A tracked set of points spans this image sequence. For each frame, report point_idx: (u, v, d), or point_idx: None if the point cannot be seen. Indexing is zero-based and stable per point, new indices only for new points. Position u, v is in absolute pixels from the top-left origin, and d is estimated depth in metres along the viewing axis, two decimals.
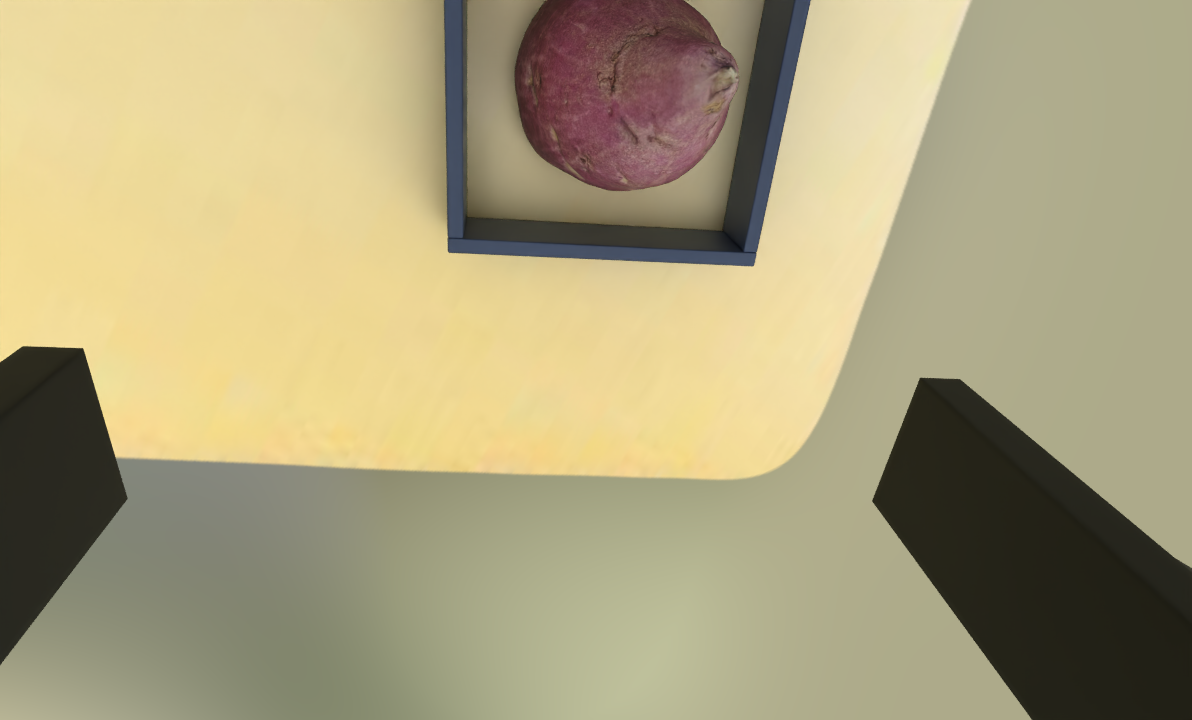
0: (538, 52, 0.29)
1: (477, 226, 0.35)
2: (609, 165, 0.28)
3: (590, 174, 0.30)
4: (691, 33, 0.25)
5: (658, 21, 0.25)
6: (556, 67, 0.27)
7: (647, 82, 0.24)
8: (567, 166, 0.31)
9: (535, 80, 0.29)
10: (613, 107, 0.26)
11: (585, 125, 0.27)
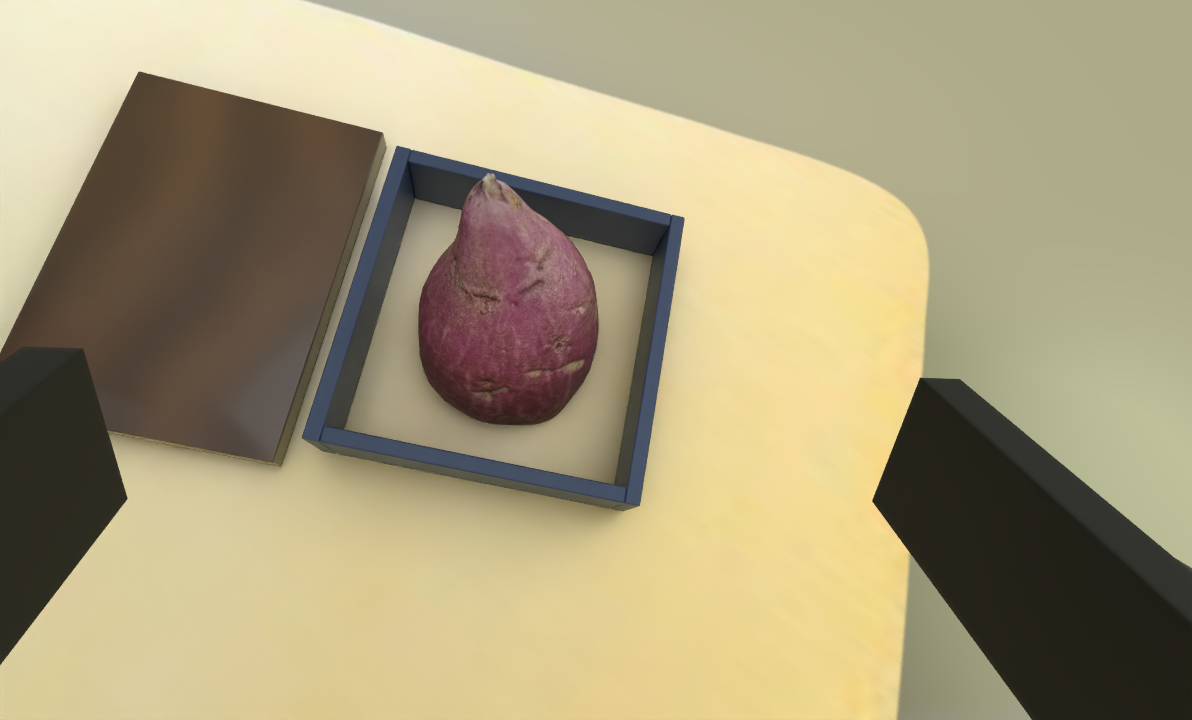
0: (464, 380, 0.32)
1: (620, 479, 0.35)
2: (563, 317, 0.30)
3: (573, 343, 0.31)
4: None
5: (448, 260, 0.30)
6: (474, 358, 0.30)
7: (489, 261, 0.27)
8: (567, 370, 0.33)
9: (486, 386, 0.32)
10: (510, 299, 0.28)
11: (524, 332, 0.29)
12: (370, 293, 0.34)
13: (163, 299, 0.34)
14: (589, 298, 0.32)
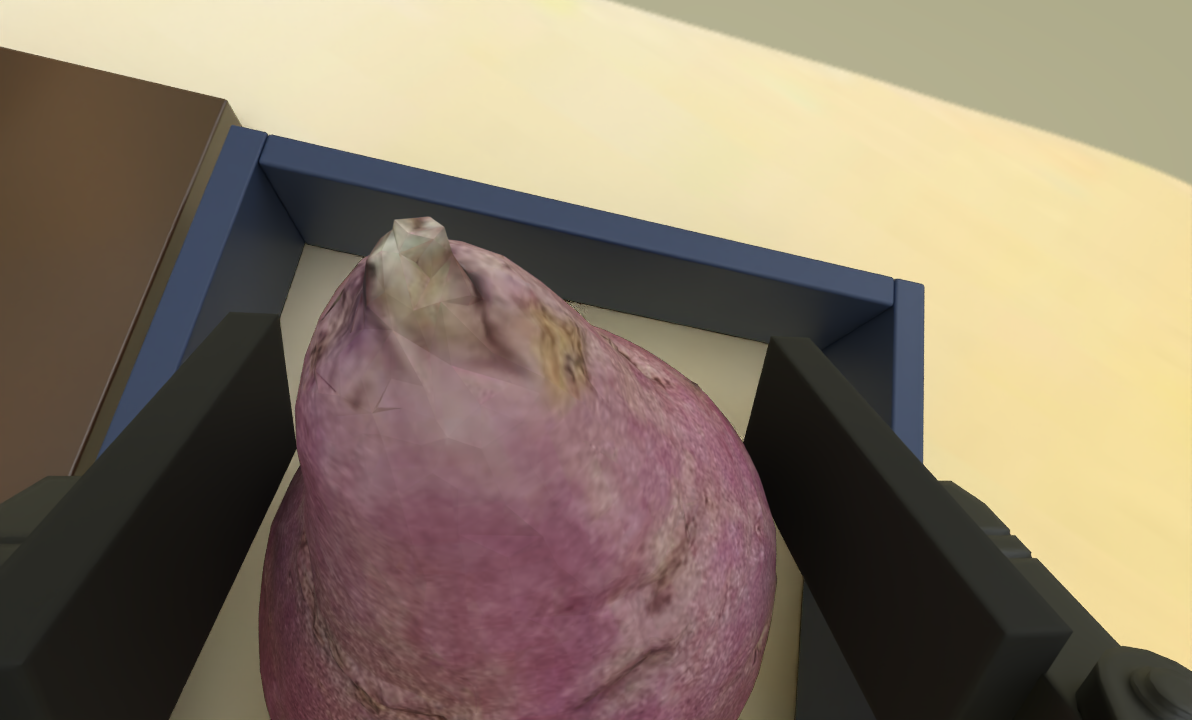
0: None
1: None
2: (721, 708, 0.08)
3: None
4: None
5: (299, 525, 0.08)
6: None
7: (438, 627, 0.06)
8: None
9: None
10: None
11: None
12: None
13: None
14: (775, 582, 0.10)
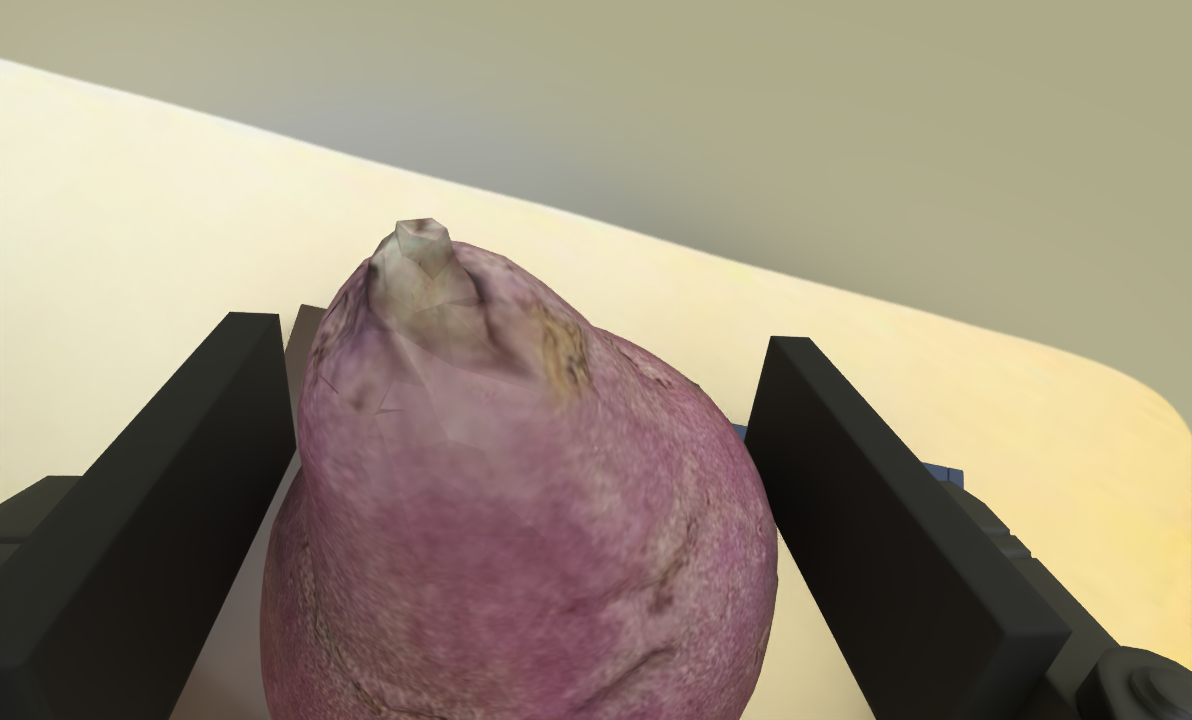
0: None
1: None
2: (723, 709, 0.08)
3: None
4: None
5: (299, 526, 0.08)
6: None
7: (440, 630, 0.06)
8: None
9: None
10: None
11: None
12: None
13: None
14: (776, 583, 0.10)
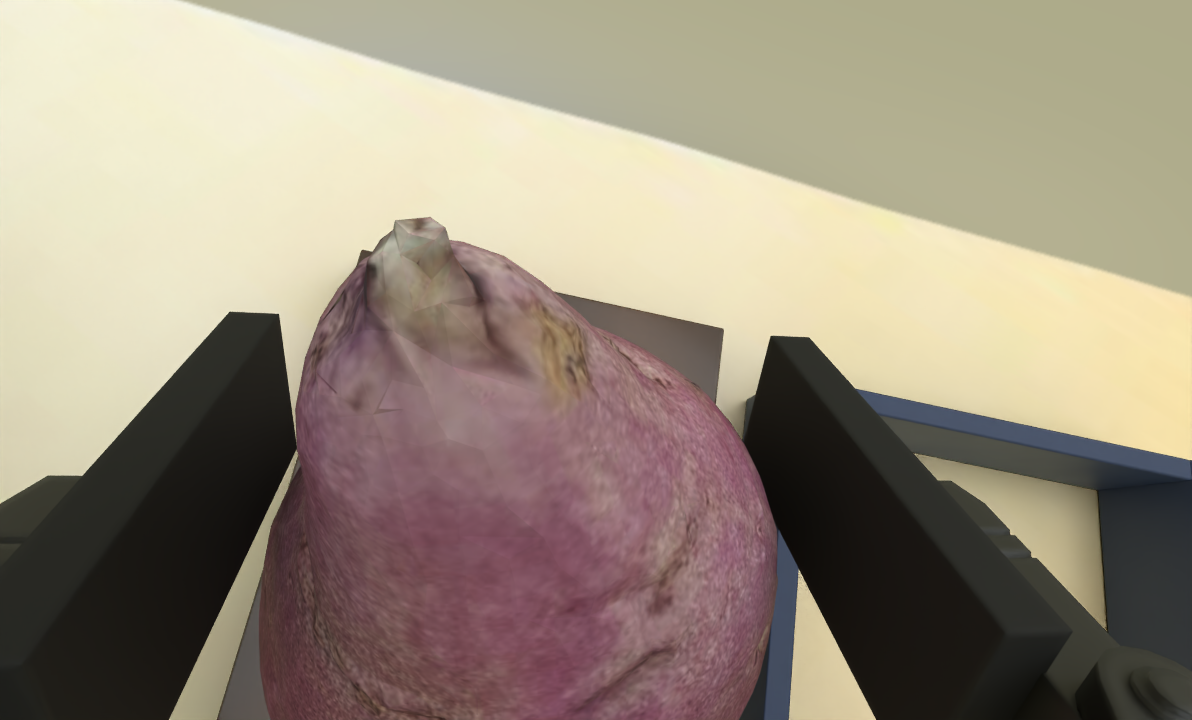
0: None
1: None
2: (723, 710, 0.08)
3: None
4: None
5: (299, 525, 0.08)
6: None
7: (440, 629, 0.06)
8: None
9: None
10: None
11: None
12: None
13: None
14: (776, 583, 0.10)
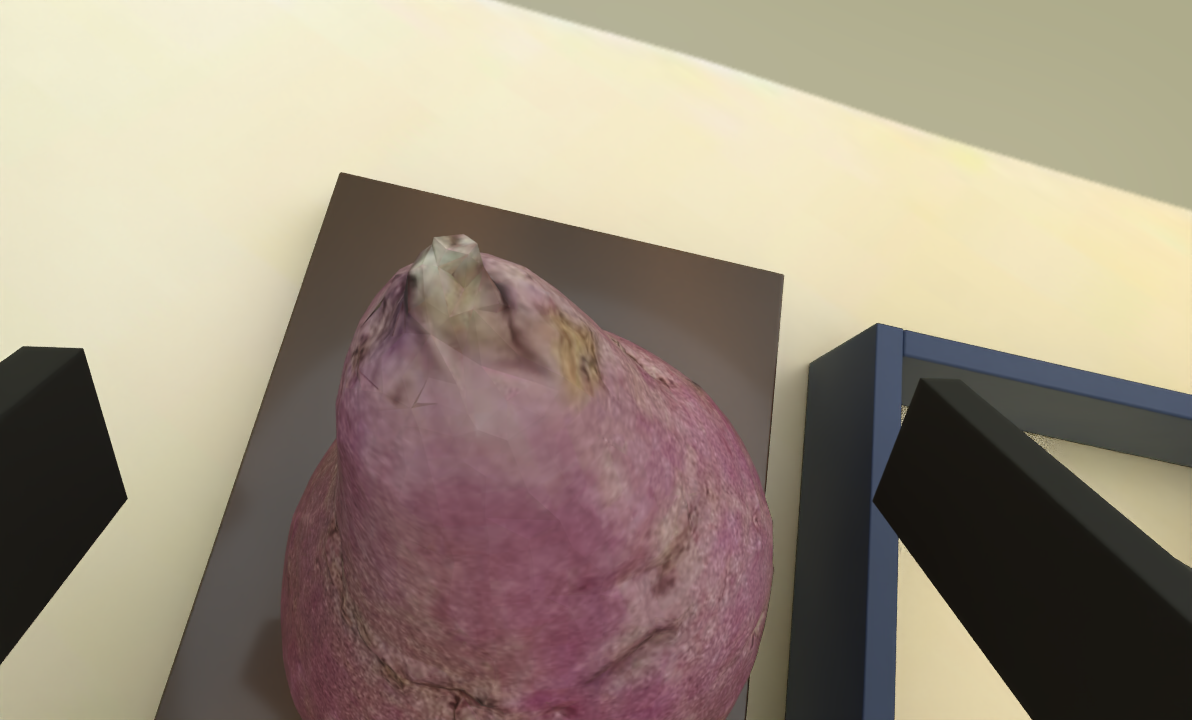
0: None
1: None
2: (722, 688, 0.09)
3: (729, 712, 0.10)
4: None
5: (325, 514, 0.09)
6: None
7: (463, 604, 0.06)
8: None
9: None
10: (547, 704, 0.07)
11: None
12: None
13: None
14: (772, 572, 0.11)
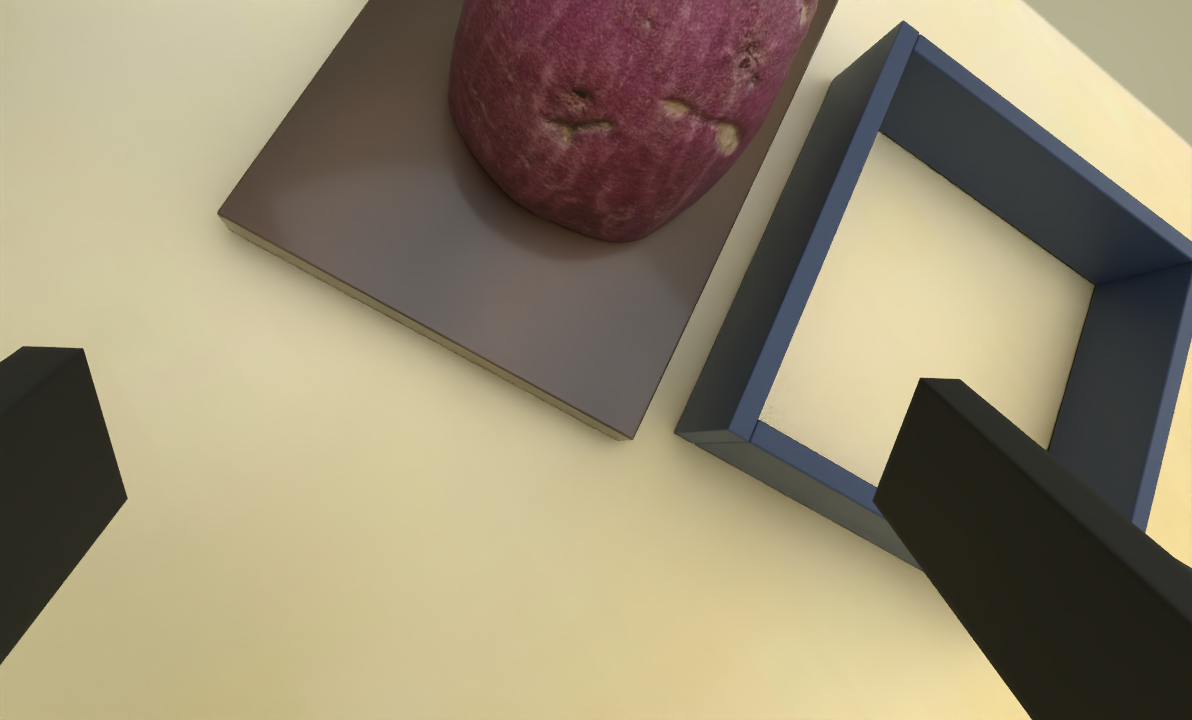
0: (536, 81, 0.16)
1: None
2: None
3: (763, 79, 0.16)
4: None
5: None
6: (580, 27, 0.15)
7: None
8: (719, 138, 0.17)
9: (575, 108, 0.16)
10: None
11: None
12: None
13: None
14: (816, 6, 0.16)
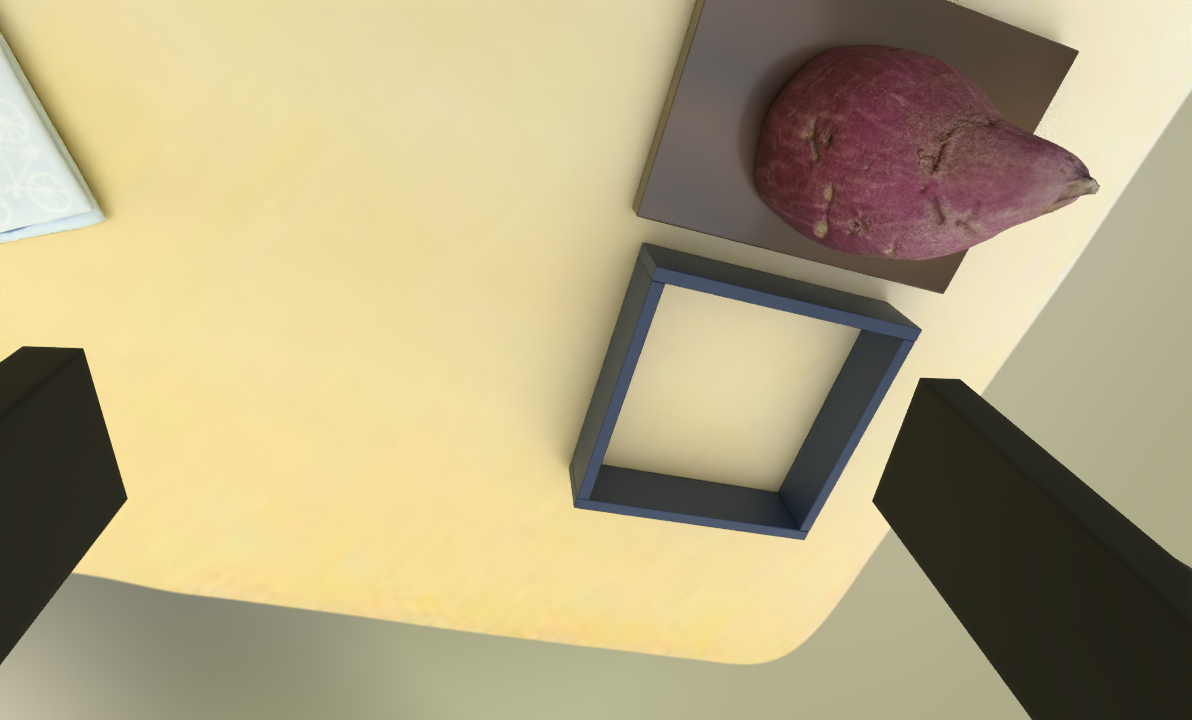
0: (834, 111, 0.29)
1: None
2: (889, 235, 0.28)
3: (852, 237, 0.30)
4: None
5: (987, 111, 0.26)
6: (862, 131, 0.27)
7: (985, 171, 0.25)
8: (819, 223, 0.31)
9: (822, 137, 0.29)
10: (930, 186, 0.26)
11: (883, 195, 0.27)
12: None
13: None
14: (896, 258, 0.30)
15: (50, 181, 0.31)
